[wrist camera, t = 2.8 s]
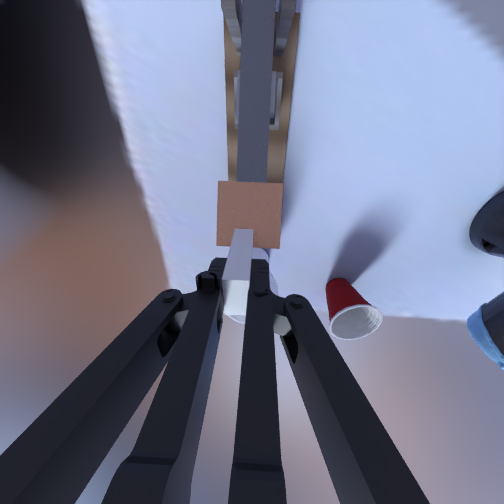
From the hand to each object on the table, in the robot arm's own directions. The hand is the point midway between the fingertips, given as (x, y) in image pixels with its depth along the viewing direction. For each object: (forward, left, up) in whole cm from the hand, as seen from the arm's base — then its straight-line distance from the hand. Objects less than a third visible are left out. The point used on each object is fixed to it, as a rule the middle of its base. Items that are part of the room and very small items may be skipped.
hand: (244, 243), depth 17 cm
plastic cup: (-22, +26, -26) cm, 43 cm away
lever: (0, -7, -11) cm, 13 cm away
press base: (0, -8, -26) cm, 27 cm away
